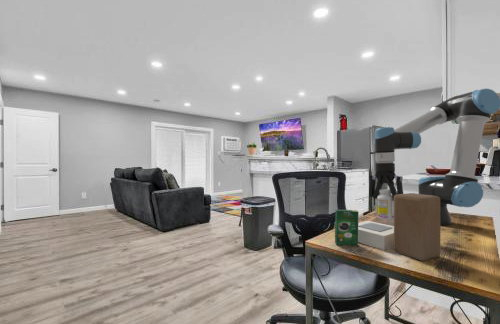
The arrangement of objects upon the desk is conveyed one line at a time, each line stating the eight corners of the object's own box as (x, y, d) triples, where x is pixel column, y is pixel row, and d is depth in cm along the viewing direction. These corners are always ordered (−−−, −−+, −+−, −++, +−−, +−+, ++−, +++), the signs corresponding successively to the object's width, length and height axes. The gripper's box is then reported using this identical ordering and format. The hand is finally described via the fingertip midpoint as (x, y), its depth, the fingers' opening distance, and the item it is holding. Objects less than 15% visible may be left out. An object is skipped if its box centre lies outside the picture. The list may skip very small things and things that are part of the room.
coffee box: (356, 243, 93) (356, 209, 93) (358, 246, 90) (358, 210, 90) (334, 242, 94) (334, 208, 94) (336, 245, 91) (336, 210, 91)
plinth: (367, 231, 108) (367, 219, 108) (406, 241, 95) (406, 228, 95) (344, 238, 100) (344, 225, 100) (384, 250, 86) (384, 235, 86)
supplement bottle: (390, 216, 112) (389, 188, 112) (397, 220, 105) (397, 190, 105) (375, 216, 112) (374, 188, 112) (381, 220, 106) (380, 190, 106)
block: (422, 262, 76) (422, 198, 76) (392, 251, 85) (392, 194, 85) (441, 257, 80) (441, 196, 80) (411, 247, 89) (411, 192, 89)
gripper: (359, 162, 115) (360, 211, 115) (404, 162, 98) (405, 219, 99) (368, 162, 119) (369, 209, 119) (413, 162, 102) (414, 216, 103)
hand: (386, 213), depth 109 cm, fingers closed on supplement bottle, 7 cm apart
